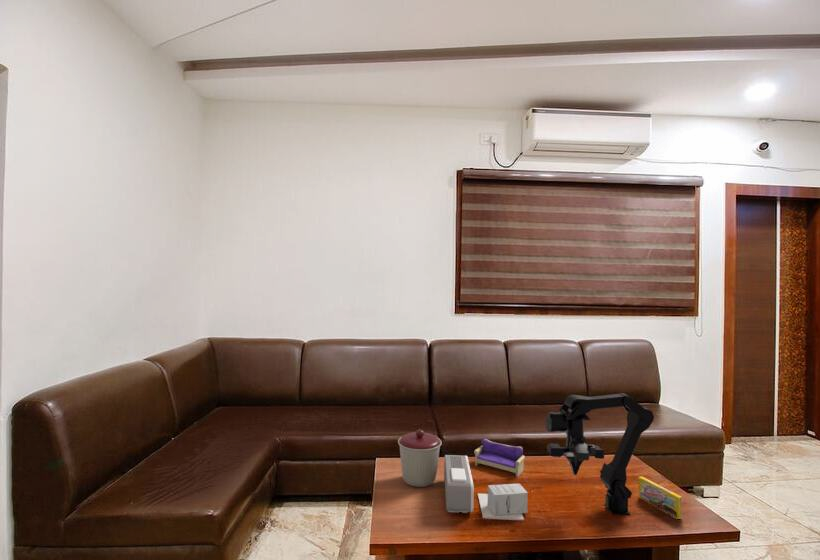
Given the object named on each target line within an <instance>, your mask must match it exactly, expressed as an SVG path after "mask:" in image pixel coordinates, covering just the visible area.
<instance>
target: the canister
mask: <svg viewBox="0 0 820 560" xmlns="http://www.w3.org/2000/svg"><path fill="white" fill-rule="evenodd" d="M397 443H398V445H399V454H400V455H399V456H400V465H401V473H402V474H401V475H402V478H403V481H404V482H405V484H407V485H408V486H412V487H415V488H424V487H428V486H431V485H432V484H433V483H434V482H435V481H436V478H437V472H438V466H439V465H438V463H439V457H440V450H441V447H442V445H443V443H442V439H440V438H439V437H437V436H436V435H434V434H432V433H429V432H424V430H423V429H417V430H415V432H413V431H412V432H409V433H405V434H404V435H402V436H400V437H399V438H398V439H397Z"/></svg>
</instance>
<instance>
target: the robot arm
mask: <svg viewBox="0 0 820 560" xmlns="http://www.w3.org/2000/svg"><path fill="white" fill-rule="evenodd" d="M618 407H622V408H623V409H624V410H625V411H627V413H626V415H627V416H626V423H627V425H626V427H625V431H624V433H623V436H622V438H621V440H620V442H619V445H618V447H617V448H616V451H615V454H614V456H613V458H612V460H611V462H609V463H606V462H603V464H602V467H601V469H600V470H599V473H600V475H599V478H600V481H601V482H602V484H603V485H604V487H605V488H606V494H605V503H604V506H605V507H606V508H607V509H608V510H609V512H610V513H611V514H613V515H631V512H630V511H629V499H631V497H632V495H633V493H632V491H631V490H630V489H629V488H628V486H626V483H627V468H628V466H629V463H630V460H631V458H632V456H633V454H634V451H635V449H636V446H637V445H638V443H639V440H640V437H641V435H642V433H644V432H645V431H647V430H648V429H649V428H650V427H651V425H652V424H653V422H654V420H655V415H654V413H653V411H652V410H650V409H648V408H647V407H645V406H642V405H641V404H640V403H638V402H637V401H635V400H634V399H633V398H632V397H631V396H630V395H627V394H626V393H623V392H620V393H614V394H605V395H596V396H594V395H593V396H586V395H577V394H569V395H567V396H566V398H565V399H564V403H563V404H562V405H561V407H559V409H558V412H553V411H548V412H547V415H546V417H545V420H544V424H545V428H546V431H547V432H549V433H565V434H566V441H565V446H566V447H565V446H563V447H562V446H560V444H559V443H550V442H548V444H547V445H546V450H547V452H548V454H549V456H550V457H553V458H554V457H555V458H561V457H562V456H564V457H565V459H567V460H568V462H569V466H570V468H571V471H572V474H573V475H574V476H577V475H578V472H579V470H580V468H581V465H583V462H585V461H589V460H590V457H593V458H595V459H599V460H600V459H601V460H603V459H605V452H604V450H603V449H602V448H601V447H600V446H599V445H597V444H589V443H588V444H587V443H586V442H587V441H586V437H585V435H584V434H585V431H584V430H585V429H584V428H585V421H590V420H591V418H590V417H589V416H588V415H587V414H589V413H590V412H592V411H593V410H598V409H608V408H609V409H610V408H618Z"/></svg>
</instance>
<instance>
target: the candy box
mask: <svg viewBox="0 0 820 560" xmlns="http://www.w3.org/2000/svg"><path fill="white" fill-rule="evenodd" d="M638 498H639V499H640V498H641V500H642V499H643V500H642V501H644V500H645V501H644V502H646V501H647V502H648V503H647V502H646V503H647V504H649V503H650V504H649V505H651V504H652V505H651V506H653V505H654V506H655V507H654V506H653V507H654V508H656V507H657V508H656V509H658V508H659V509H658V510H660V509H661V510H663V511H665V512H667V513H668V514H670V515H672V516H674V517H676V518H677V519H682V520H683V497H682V496H681V495H679V494H677V493H676V492H674V491H672V490H669V489H667V488H665V487H663V486H661V485H660V484H657V483H656V482H654V481H652V480H649V479H648V478H646V477H644V476H642V475H641V476H638ZM661 510H660V511H661ZM663 511H662V512H663ZM665 512H664V513H665ZM667 513H666V514H667ZM668 514H667V515H668ZM670 515H669V516H670ZM672 516H671V517H672ZM674 517H673V518H674ZM677 519H676V520H677Z"/></svg>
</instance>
